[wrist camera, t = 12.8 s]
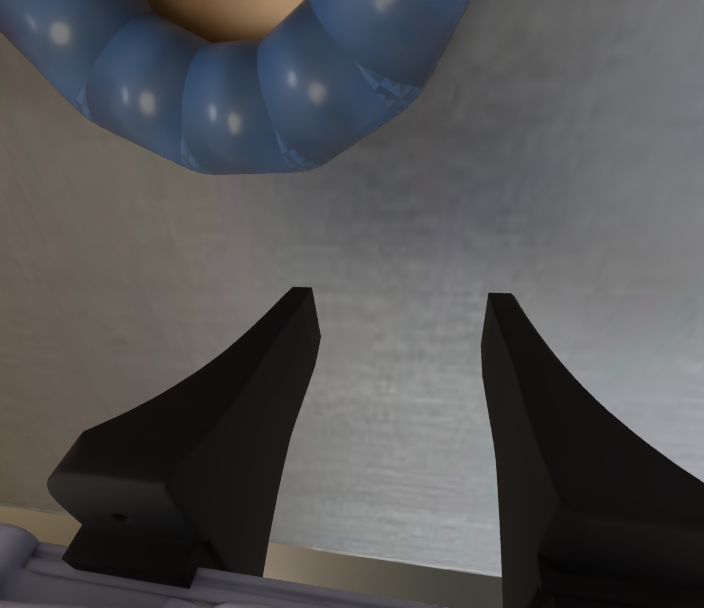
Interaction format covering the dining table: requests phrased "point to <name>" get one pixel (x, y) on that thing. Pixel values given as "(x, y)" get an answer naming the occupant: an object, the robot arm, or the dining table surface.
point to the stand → (225, 17)
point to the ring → (236, 76)
